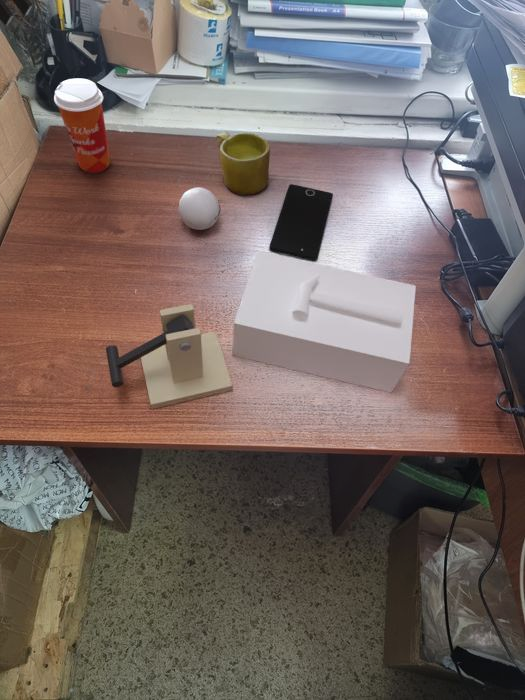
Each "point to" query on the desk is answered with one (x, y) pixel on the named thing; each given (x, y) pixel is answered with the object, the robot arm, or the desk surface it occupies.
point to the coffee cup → (84, 122)
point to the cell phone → (301, 222)
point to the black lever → (142, 349)
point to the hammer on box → (325, 321)
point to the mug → (244, 162)
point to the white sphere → (199, 208)
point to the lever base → (185, 364)
